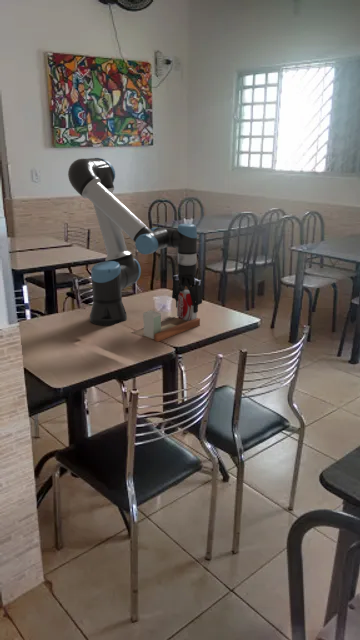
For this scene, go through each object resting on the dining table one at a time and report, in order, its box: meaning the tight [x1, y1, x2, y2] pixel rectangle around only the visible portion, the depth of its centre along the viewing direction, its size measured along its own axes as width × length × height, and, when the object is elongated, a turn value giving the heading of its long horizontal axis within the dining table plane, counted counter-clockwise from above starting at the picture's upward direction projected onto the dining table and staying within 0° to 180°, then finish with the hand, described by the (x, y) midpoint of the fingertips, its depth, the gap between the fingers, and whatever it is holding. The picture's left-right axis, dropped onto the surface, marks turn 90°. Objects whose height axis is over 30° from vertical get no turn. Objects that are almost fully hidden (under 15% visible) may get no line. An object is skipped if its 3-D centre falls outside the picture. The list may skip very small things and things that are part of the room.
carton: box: [142, 309, 162, 339], centre depth 180 cm, size 5×4×9 cm
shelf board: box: [130, 316, 201, 343], centre depth 189 cm, size 14×24×4 cm, turn 139°
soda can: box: [177, 288, 193, 321], centre depth 202 cm, size 7×7×12 cm
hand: (186, 317), depth 204 cm, fingers closed on soda can, 7 cm apart
